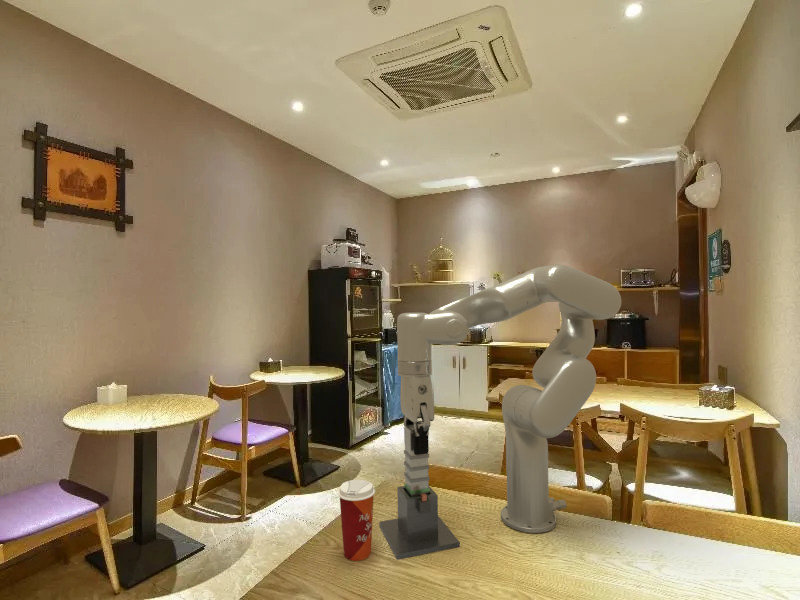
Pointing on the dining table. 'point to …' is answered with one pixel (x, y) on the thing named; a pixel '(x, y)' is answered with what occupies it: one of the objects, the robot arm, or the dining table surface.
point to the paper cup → (356, 518)
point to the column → (415, 466)
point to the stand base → (417, 526)
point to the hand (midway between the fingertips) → (416, 448)
